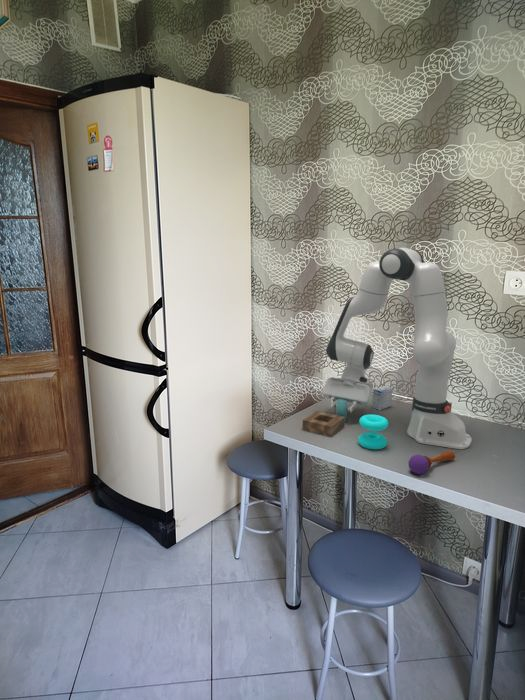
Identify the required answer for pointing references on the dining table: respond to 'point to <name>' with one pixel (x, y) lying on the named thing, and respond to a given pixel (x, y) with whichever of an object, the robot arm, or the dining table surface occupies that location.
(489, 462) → the dining table surface
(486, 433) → the dining table surface
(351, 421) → the dining table surface
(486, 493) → the dining table surface
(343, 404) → the teal rounded cylinder
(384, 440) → the donuts
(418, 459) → the kendama
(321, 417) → the brown square frame block
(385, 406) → the medicine box
